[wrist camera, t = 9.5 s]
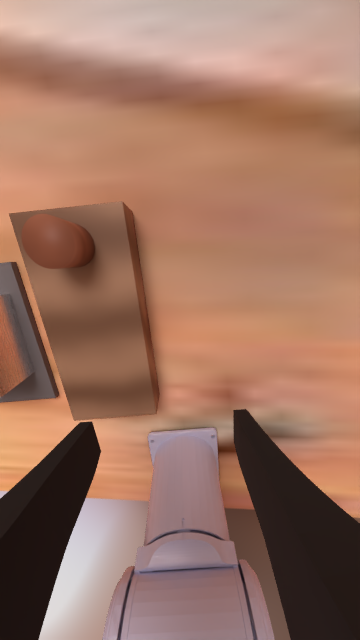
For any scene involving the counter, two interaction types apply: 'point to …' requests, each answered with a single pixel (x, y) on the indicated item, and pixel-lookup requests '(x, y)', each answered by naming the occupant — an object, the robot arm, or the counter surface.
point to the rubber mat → (27, 341)
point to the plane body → (92, 306)
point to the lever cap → (12, 348)
